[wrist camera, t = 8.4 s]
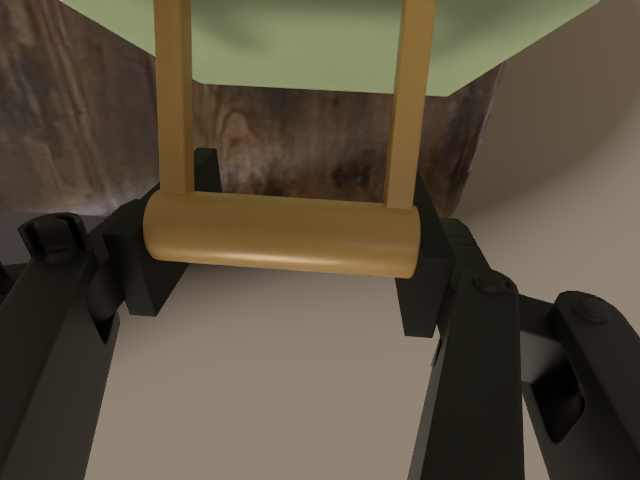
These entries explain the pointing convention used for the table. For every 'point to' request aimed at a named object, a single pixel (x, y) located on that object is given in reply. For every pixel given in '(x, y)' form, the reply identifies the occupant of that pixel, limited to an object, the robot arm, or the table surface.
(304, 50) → the lid
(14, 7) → the table surface
